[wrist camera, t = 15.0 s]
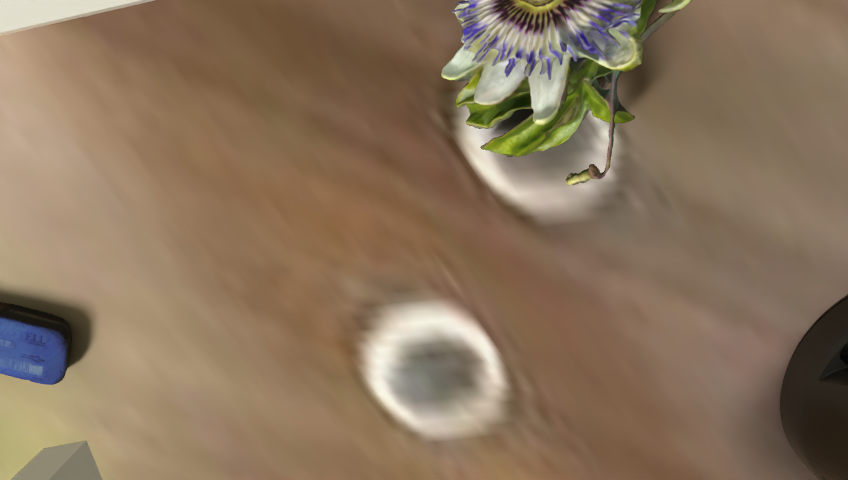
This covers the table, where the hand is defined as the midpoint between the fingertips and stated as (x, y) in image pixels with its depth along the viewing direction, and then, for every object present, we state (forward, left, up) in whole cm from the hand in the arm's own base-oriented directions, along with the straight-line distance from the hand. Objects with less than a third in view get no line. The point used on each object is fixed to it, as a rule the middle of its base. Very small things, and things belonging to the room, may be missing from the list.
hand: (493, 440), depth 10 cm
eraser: (+29, +5, -27) cm, 40 cm away
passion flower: (-7, -5, -27) cm, 28 cm away
